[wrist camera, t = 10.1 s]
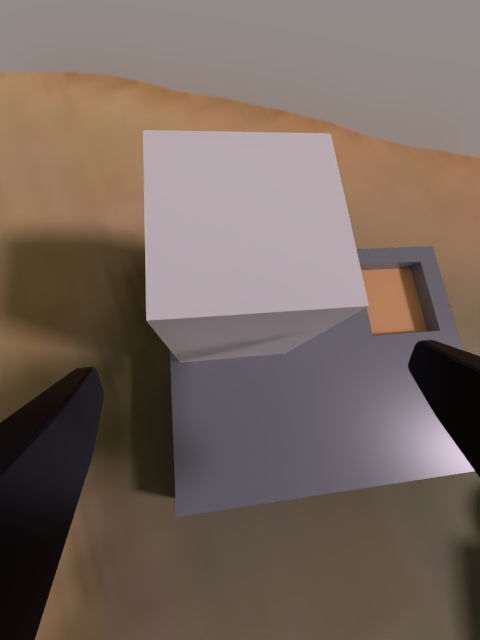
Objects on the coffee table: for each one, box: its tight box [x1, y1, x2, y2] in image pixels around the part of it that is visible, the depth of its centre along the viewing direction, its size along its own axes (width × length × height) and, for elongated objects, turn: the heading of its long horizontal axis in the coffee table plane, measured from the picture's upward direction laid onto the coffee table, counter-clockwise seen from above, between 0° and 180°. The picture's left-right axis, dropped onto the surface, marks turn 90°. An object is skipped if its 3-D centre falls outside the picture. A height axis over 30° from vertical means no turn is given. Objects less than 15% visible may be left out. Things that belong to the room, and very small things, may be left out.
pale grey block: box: [143, 130, 369, 363], centre depth 14 cm, size 6×6×11 cm
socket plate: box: [170, 246, 475, 517], centre depth 18 cm, size 14×18×2 cm
